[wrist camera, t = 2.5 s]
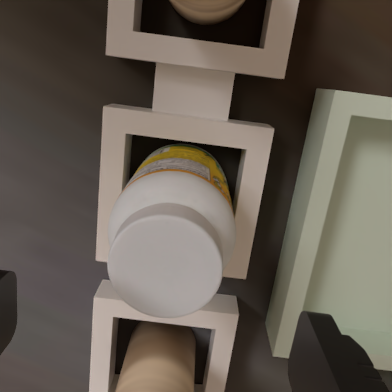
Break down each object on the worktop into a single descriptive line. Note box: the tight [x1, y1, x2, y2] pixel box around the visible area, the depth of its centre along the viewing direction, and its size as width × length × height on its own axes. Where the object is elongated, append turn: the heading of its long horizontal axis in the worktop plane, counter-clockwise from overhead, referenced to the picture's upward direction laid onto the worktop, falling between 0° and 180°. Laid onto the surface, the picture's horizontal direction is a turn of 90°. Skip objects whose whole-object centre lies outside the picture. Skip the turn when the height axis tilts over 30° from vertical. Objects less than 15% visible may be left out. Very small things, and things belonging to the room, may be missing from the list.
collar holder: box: [89, 0, 299, 392], centre depth 21 cm, size 31×9×2 cm, turn 173°
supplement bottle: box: [107, 144, 236, 318], centre depth 17 cm, size 5×5×10 cm
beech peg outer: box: [115, 320, 196, 392], centre depth 21 cm, size 4×4×8 cm
